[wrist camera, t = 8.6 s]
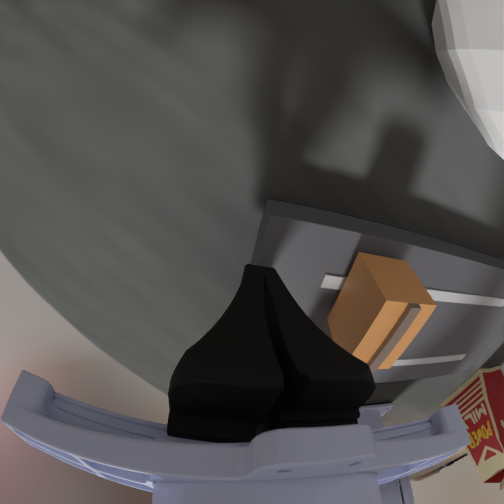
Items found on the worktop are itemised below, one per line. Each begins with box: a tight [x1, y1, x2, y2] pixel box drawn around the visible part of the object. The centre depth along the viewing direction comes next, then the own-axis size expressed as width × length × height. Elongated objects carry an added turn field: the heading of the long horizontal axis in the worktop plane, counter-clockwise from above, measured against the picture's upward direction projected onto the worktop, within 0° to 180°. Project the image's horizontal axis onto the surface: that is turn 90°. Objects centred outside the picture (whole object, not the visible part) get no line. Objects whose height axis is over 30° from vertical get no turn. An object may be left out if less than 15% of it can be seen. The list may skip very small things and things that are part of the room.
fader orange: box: [327, 252, 437, 374], centre depth 12 cm, size 4×3×4 cm, turn 169°
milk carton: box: [439, 366, 504, 490], centre depth 21 cm, size 9×9×20 cm
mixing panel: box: [252, 199, 504, 383], centre depth 18 cm, size 13×26×2 cm, turn 79°
